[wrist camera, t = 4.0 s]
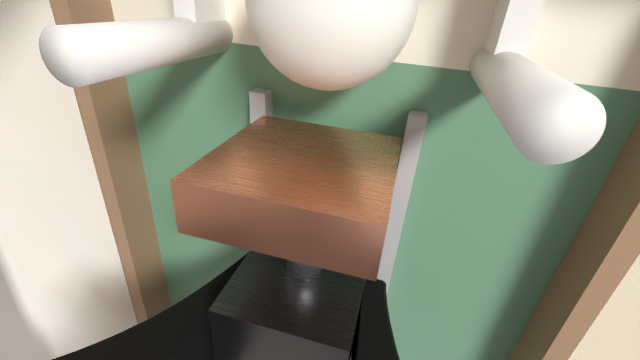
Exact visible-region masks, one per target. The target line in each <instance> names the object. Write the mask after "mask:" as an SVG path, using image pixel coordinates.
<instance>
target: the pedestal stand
mask: <svg viewBox="0 0 640 360" xmlns="http://www.w3.org/2000/svg"><path fill="white" fill-rule="evenodd" d="M401 142H402V138H400V137H394V136H388V135H382V134H375V133H369V132H363V131H357V130H351V129H344V128H338V127H332V126H326V125H320V124H313V123H307V122H301V121H295V120H289V119H282V118H276V117H270V116H264V115H262V116H261V117H259V118H258V119H257V120H255V121H254V122H252V123H251V124H249V125H248V126H247V127H245V128H244V129H242V130H241V131H239V132H238V133H237V134H235V135H234V136H232V137H231V138H229V139H228V140H226V141H225V142H224V143H222V144H221V145H219V146H218V147H216V148H215V149H214V150H212V151H211V152H209V153H208V154H206V155H205V156H204V157H202V158H201V159H199V160H198V161H196V162H195V163H194V164H192V165H191V166H189V167H188V168H186V169H185V170H184V171H182V172H181V173H179V174H178V175H176V176H175V177H174V178H172V179H171V180H170V186H171V192H172V199H173V205H174V211H175V217H176V224H177V230H178V233H182V234H186V235H190V236H194V237H198V238H202V239H206V240H210V241H214V242H218V243H222V244H226V245H230V246H234V247H238V248H242V249H246V250H250V251H249V253H248V254H247V255H246V257H245V258H244V260H243V261H242V263H241V264H240V265H239V267H238V268H237V270H236V271H235V273H234V274H233V275H232V277H231V278H230V280H229V281H228V283H227V284H226V285H225V287H224V288H223V290H222V291H221V292H220V294H219V295H218V297H217V298H216V300H215V301H214V302H213V304H212V305H211V307H210V308H209V310H208V315H209V323H210V331H211V339H212V347H213V355H214V360H351V355H352V349H353V343H354V338H355V332H356V327H357V322H358V316H359V311H360V305H361V300H362V295H363V290H364V286H365V281H366V279H368V280H372V281H376V280H377V275H378V270H379V265H380V260H381V255H382V251H383V246H384V241H385V236H386V231H387V226H388V220H389V214H390V208H391V202H392V196H393V190H394V184H395V178H396V172H397V166H398V160H399V154H400V148H401Z"/></svg>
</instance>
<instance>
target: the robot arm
mask: <svg viewBox="0 0 640 360" xmlns="http://www.w3.org/2000/svg"><path fill="white" fill-rule="evenodd" d="M248 253H249V252H248ZM248 253H247V254H248ZM247 254H246V255H247ZM246 255H244V256H243V257H242V258H241V259H239V260H238V261H237V262H235V263H234V264H233V265H231V266H230V267H229V268H227V269H226V270H225V271H223V272H222V273H221V274H219V275H218V276H217V277H215V278H214V279H212V280H211V281H210V282H208V283H207V284H205V285H204V286H202V287H201V288H199V289H198V290H196V291H195V292H193V293H192V294H190V295H189V296H187V297H186V298H184V299H183V300H181V301H179V302H178V303H176V304H174V305H173V306H171V307H169V308H168V309H166V310H164V311H162V312H161V313H159V314H157V315H155V316H153V317H152V318H150V319H148V320H146V321H144V322H142V323H140V324H138V325H136V326H133V327H131V328H129V329H127V330H125V331H123V332H121V333H119V334H117V335H114V336H112V337H110V338H107V339H105V340H103V341H100V342H98V343H96V344H93V345H90V346H88V347H85V348H83V349H80V350H78V351H75V352H72V353H70V354H67V355H64V356H61V357H58V358H55V359H52V360H214V355H213V347H212V339H211V331H210V323H209V315H208V310H209V308H210V307H211V305H212V304H213V302H214V301H215V300H216V298H217V297H218V295H219V294H220V292H221V291H222V290H223V288H224V287H225V285H226V284H227V283H228V281H229V280H230V278H231V277H232V275H233V274H234V273H235V271H236V270H237V268H238V267H239V265H240V264H241V263H242V261H243V260H244V258H245V257H246ZM351 360H400V358H399V355H398V352H397V348H396V344H395V340H394V336H393V331H392V327H391V322H390V317H389V311H388V305H387V296H386V283H385V282H384V281H383V280H379V279H377V280H376V281H372V280H368V279H366V281H365V286H364V290H363V295H362V300H361V305H360V311H359V316H358V322H357V327H356V332H355V338H354V343H353V349H352V355H351Z"/></svg>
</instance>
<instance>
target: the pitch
mask: <svg viewBox="0 0 640 360" xmlns="http://www.w3.org/2000/svg"><path fill="white" fill-rule="evenodd" d="M49 1H50V5H51V8H52V12H53V16H54V19H55V23H56V25H52V26H48V27H46V28H45V29H44V30H43V31H42V32H41V35H40V38H39V48H40V53H41V56H42V59H43V61H44V63H45V65H46V67H47V68H48V70H49V71H50V72H51V74H52V75H53V76H54V77H55V78H56V79H57V80H59V81H60V82H61V83H63V84H65V85H67V86H69V87H73V88H74V92H75V96H76V99H77V103H78V107H79V110H80V114H81V118H82V121H83V125H84V129H85V132H86V136H87V140H88V143H89V147H90V150H91V154H92V158H93V161H94V165H95V169H96V172H97V176H98V180H99V183H100V187H101V191H102V194H103V198H104V202H105V205H106V209H107V212H108V216H109V220H110V223H111V227H112V231H113V234H114V238H115V242H116V245H117V249H118V253H119V256H120V260H121V264H122V267H123V271H124V274H125V278H126V282H127V285H128V289H129V293H130V296H131V300H132V304H133V307H134V311H135V315H136V318H137V322H138V324H140V323H142V322H144V321H146V320H148V319H150V318H152V317H153V316H155V315H157V314H159V313H161V312H162V311H164V310H166V309H168V308H169V307H171V306H173V305H174V304H176V303H178V302H179V301H181V300H183V299H184V298H186V297H187V296H189V295H190V294H192V293H193V292H195V291H196V290H198V289H199V288H201V287H202V286H204V285H205V284H207V283H208V282H210V281H211V280H212V279H214V278H215V277H217V276H218V275H219V274H221V273H222V272H223V271H225V270H226V269H227V268H229V267H230V266H231V265H233V264H234V263H235V262H237V261H238V260H239V259H241V258H242V257H243V256H244V255H246V254H247V253H248V252H249V251H250V250H246V249H242V248H238V247H234V246H230V245H226V244H222V243H218V242H214V241H210V240H206V239H202V238H198V237H194V236H190V235H186V234H182V233H178V230H177V224H176V217H175V211H174V205H173V199H172V192H171V186H170V180H171V179H172V178H174V177H175V176H176V175H178V174H179V173H181V172H182V171H184V170H185V169H186V168H188V167H189V166H191V165H192V164H194V163H195V162H196V161H198V160H199V159H201V158H202V157H204V156H205V155H206V154H208V153H209V152H211V151H212V150H214V149H215V148H216V147H218V146H219V145H221V144H222V143H224V142H225V141H226V140H228V139H229V138H231V137H232V136H234V135H235V134H237V133H238V132H239V131H241V130H242V129H244V128H245V127H247V126H248V125H249V124H251V123H252V122H254V121H255V120H257V119H258V118H259V117H261V116H262V115H264V116H270V117H276V118H282V119H289V120H295V121H301V122H307V123H313V124H320V125H326V126H332V127H338V128H344V129H351V130H357V131H363V132H369V133H375V134H382V135H388V136H394V137H400V138H402V142H401V148H400V154H399V160H398V166H397V172H396V178H395V184H394V190H393V196H392V202H391V208H390V214H389V220H388V226H387V231H386V236H385V241H384V246H383V251H382V255H381V260H380V265H379V270H378V275H377V279H379V280H383V281H384V282H385V283H386V296H387V305H388V311H389V317H390V322H391V327H392V331H393V336H394V340H395V344H396V348H397V352H398V355H399V358H400V360H568V359H569V357H570V356H571V354H572V353H573V351H574V350H575V348H576V347H577V345H578V344H579V342H580V341H581V340H582V338H583V337H584V335H585V334H586V332H587V331H588V329H589V328H590V326H591V325H592V323H593V322H594V320H595V319H596V317H597V316H598V314H599V313H600V311H601V310H602V308H603V307H604V305H605V304H606V303H607V301H608V300H609V298H610V297H611V295H612V294H613V292H614V291H615V289H616V288H617V286H618V285H619V283H620V282H621V280H622V279H623V277H624V276H625V274H626V273H627V271H628V270H629V269H630V267H631V266H632V264H633V263H634V261H635V260H636V258H637V257H638V255H639V254H640V0H419V6H418V12H417V16H416V20H415V23H414V27H413V29H412V32H411V34H410V37H409V39H408V41H407V42H406V44H405V46H404V48H403V49H402V51H401V52H400V53H399V55H398V56H397V57H396V59H395V60H394V61H393V62H392V63H391V64H390V65H389V66H388V67H387V68H386V69H385V70H384V71H383V72H381V73H380V74H379V75H378V76H376V77H375V78H373V79H371V80H369V81H368V82H366V83H364V84H361V85H359V86H356V87H353V88H349V89H345V90H335V91H325V90H317V89H313V88H309V87H305V86H303V85H300V84H298V83H296V82H294V81H292V80H290V79H289V78H287V77H286V76H285V75H283V74H282V73H280V72H279V71H278V70H277V69H276V68H275V67H274V66H273V65H272V64H271V63H270V62H269V61H268V59H267V58H266V57H265V55H264V54H263V53H262V51H261V49H260V48H259V46H258V44H257V43H256V41H255V38H254V36H253V34H252V31H251V28H250V25H249V21H248V17H247V12H246V6H245V0H49Z"/></svg>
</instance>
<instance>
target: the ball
mask: <svg viewBox="0 0 640 360" xmlns="http://www.w3.org/2000/svg"><path fill="white" fill-rule="evenodd" d="M245 6H246V12H247V17H248V21H249V25H250V28H251V31H252V34H253V36H254V38H255V41H256V43H257V44H258V46H259V48H260V49H261V51H262V53H263V54H264V55H265V57H266V58H267V59H268V61H269V62H270V63H271V64H272V65H273V66H274V67H275V68H276V69H277V70H278V71H279V72H280V73H282V74H283V75H285V76H286V77H287V78H289V79H290V80H292V81H294V82H296V83H298V84H300V85H303V86H305V87H309V88H313V89H317V90H325V91H335V90H345V89H349V88H353V87H356V86H359V85H361V84H364V83H366V82H368V81H369V80H371V79H373V78H375V77H376V76H378V75H379V74H380V73H381V72H383V71H384V70H385V69H386V68H387V67H388V66H389V65H390V64H391V63H392V62H393V61H394V60H395V59H396V57H397V56H398V55H399V53H400V52H401V51H402V49H403V48H404V46H405V44H406V42H407V41H408V39H409V37H410V34H411V32H412V29H413V27H414V23H415V20H416V16H417V12H418V6H419V0H245Z"/></svg>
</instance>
